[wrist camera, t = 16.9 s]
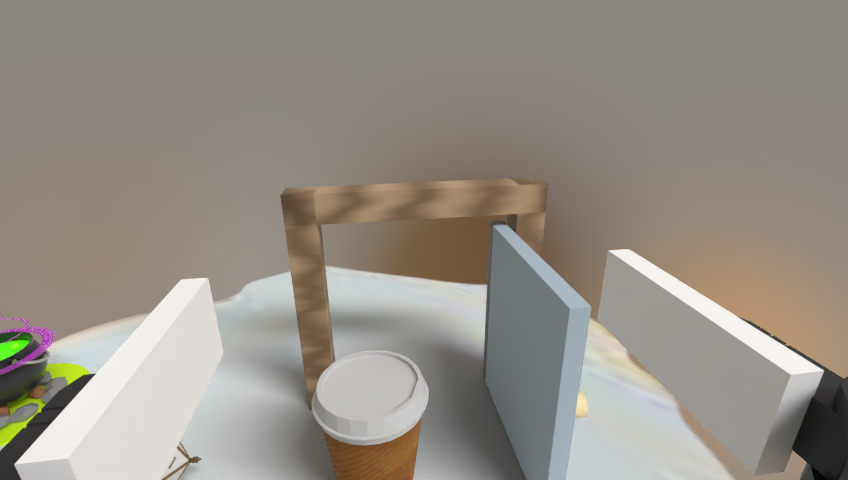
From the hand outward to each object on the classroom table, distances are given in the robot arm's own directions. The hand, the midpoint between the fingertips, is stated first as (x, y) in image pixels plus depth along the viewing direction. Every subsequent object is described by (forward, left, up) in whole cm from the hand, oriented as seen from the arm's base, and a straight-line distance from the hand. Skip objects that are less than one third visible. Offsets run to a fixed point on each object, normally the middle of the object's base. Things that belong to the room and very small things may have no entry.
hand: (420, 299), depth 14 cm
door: (-5, +23, -27) cm, 36 cm away
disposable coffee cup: (-13, +10, -28) cm, 32 cm away
